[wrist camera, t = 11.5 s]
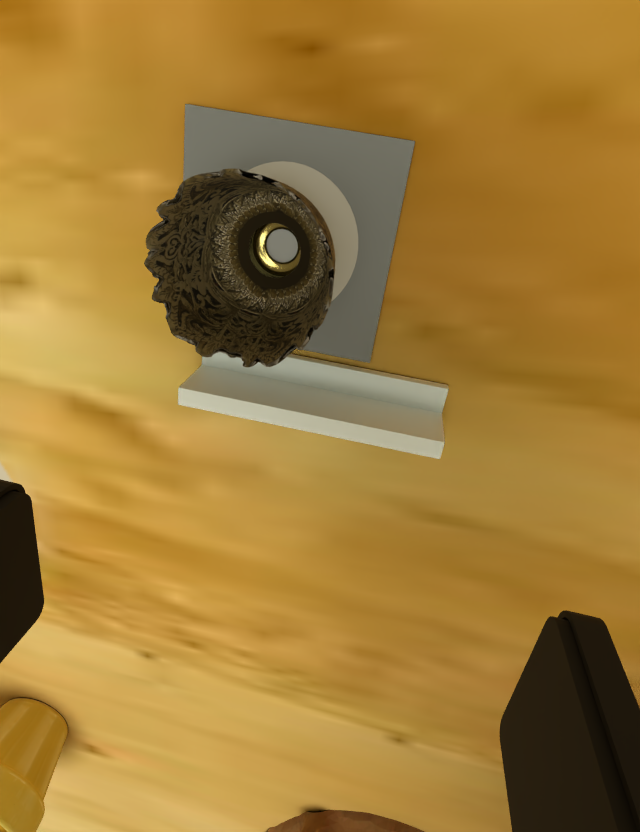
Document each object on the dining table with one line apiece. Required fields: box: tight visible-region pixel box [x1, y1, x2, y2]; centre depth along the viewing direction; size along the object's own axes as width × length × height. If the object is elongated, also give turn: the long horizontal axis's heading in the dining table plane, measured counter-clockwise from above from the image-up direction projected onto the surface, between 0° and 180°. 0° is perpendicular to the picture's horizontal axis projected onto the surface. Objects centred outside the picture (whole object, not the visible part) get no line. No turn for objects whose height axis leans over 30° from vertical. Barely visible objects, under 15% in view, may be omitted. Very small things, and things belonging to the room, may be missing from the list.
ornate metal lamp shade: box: [144, 169, 335, 367], centre depth 24 cm, size 8×7×8 cm
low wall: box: [178, 352, 449, 459], centre depth 29 cm, size 4×14×4 cm, turn 82°
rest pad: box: [183, 104, 415, 363], centre depth 27 cm, size 11×11×1 cm
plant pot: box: [0, 698, 68, 832], centre depth 47 cm, size 10×10×10 cm
